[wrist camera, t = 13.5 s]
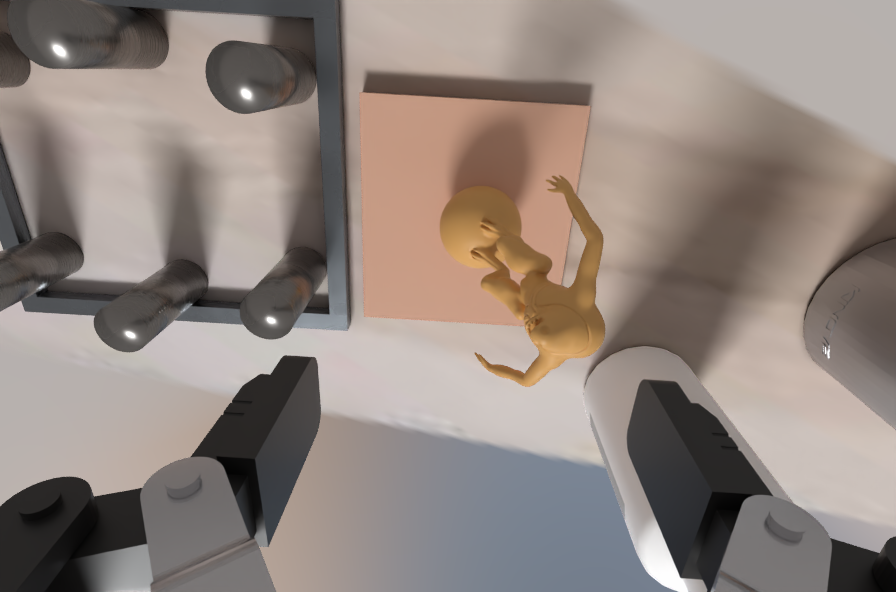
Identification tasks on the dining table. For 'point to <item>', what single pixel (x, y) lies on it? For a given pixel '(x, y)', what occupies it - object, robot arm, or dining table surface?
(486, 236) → the figurine
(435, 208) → the terracotta tile
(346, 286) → the standoff field
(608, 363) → the white piece
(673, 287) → the dining table surface
